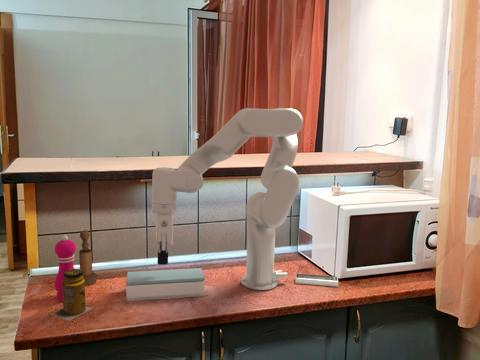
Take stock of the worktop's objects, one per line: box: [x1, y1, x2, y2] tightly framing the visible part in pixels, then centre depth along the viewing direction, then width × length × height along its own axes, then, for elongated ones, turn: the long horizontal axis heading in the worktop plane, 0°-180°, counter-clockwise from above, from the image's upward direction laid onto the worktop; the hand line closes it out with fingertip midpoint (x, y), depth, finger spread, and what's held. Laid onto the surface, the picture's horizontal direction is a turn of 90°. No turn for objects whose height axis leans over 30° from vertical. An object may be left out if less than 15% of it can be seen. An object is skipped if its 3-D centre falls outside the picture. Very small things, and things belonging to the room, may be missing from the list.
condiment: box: [51, 268, 93, 322], centre depth 121 cm, size 7×8×12 cm
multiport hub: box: [294, 273, 339, 288], centre depth 147 cm, size 4×14×2 cm, turn 82°
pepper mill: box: [53, 234, 77, 303], centre depth 129 cm, size 7×7×20 cm
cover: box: [125, 267, 206, 285], centre depth 135 cm, size 24×9×1 cm, turn 102°
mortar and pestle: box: [78, 229, 97, 287], centre depth 141 cm, size 7×6×18 cm
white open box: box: [125, 280, 206, 302], centre depth 136 cm, size 24×9×5 cm, turn 102°
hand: (162, 263), depth 134 cm, fingers closed
